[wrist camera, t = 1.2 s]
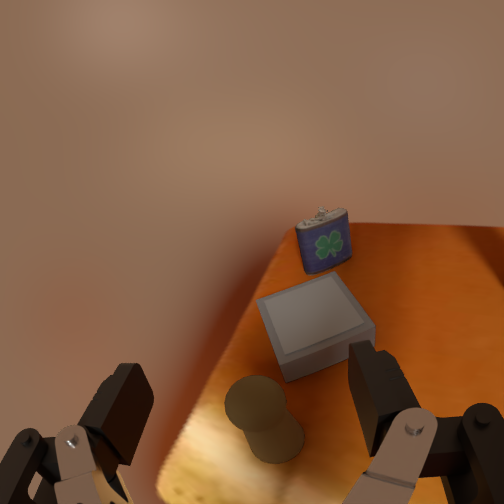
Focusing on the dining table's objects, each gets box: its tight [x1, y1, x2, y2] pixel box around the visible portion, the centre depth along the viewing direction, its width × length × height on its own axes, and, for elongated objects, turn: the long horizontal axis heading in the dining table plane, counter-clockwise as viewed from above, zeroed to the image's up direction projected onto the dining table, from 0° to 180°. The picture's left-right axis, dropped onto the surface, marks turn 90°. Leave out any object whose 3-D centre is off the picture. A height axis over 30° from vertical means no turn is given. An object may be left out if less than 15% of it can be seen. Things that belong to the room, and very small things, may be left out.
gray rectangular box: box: [256, 271, 376, 383], centre depth 38 cm, size 12×12×4 cm
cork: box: [224, 375, 305, 464], centre depth 25 cm, size 6×6×11 cm
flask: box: [295, 206, 352, 275], centre depth 48 cm, size 9×3×11 cm, turn 107°
